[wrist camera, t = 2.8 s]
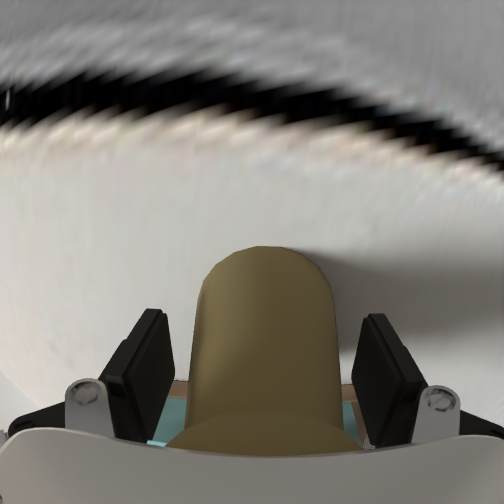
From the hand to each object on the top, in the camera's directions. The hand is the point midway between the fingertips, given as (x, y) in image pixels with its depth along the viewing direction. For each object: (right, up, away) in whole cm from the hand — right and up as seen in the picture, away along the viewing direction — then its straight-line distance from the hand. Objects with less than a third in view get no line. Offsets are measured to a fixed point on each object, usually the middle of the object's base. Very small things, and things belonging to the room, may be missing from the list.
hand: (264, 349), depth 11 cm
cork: (0, +1, +3) cm, 3 cm away
